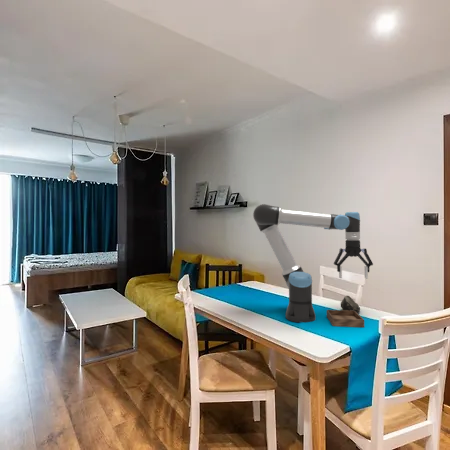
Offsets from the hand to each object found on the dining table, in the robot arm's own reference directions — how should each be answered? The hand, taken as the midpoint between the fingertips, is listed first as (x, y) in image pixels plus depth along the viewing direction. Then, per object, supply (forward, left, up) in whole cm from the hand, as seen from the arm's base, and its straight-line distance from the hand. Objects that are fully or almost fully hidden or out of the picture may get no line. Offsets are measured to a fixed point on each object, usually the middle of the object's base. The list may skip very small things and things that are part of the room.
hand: (353, 278), depth 164 cm
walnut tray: (-9, -18, -19) cm, 28 cm away
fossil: (0, 0, -20) cm, 20 cm away
